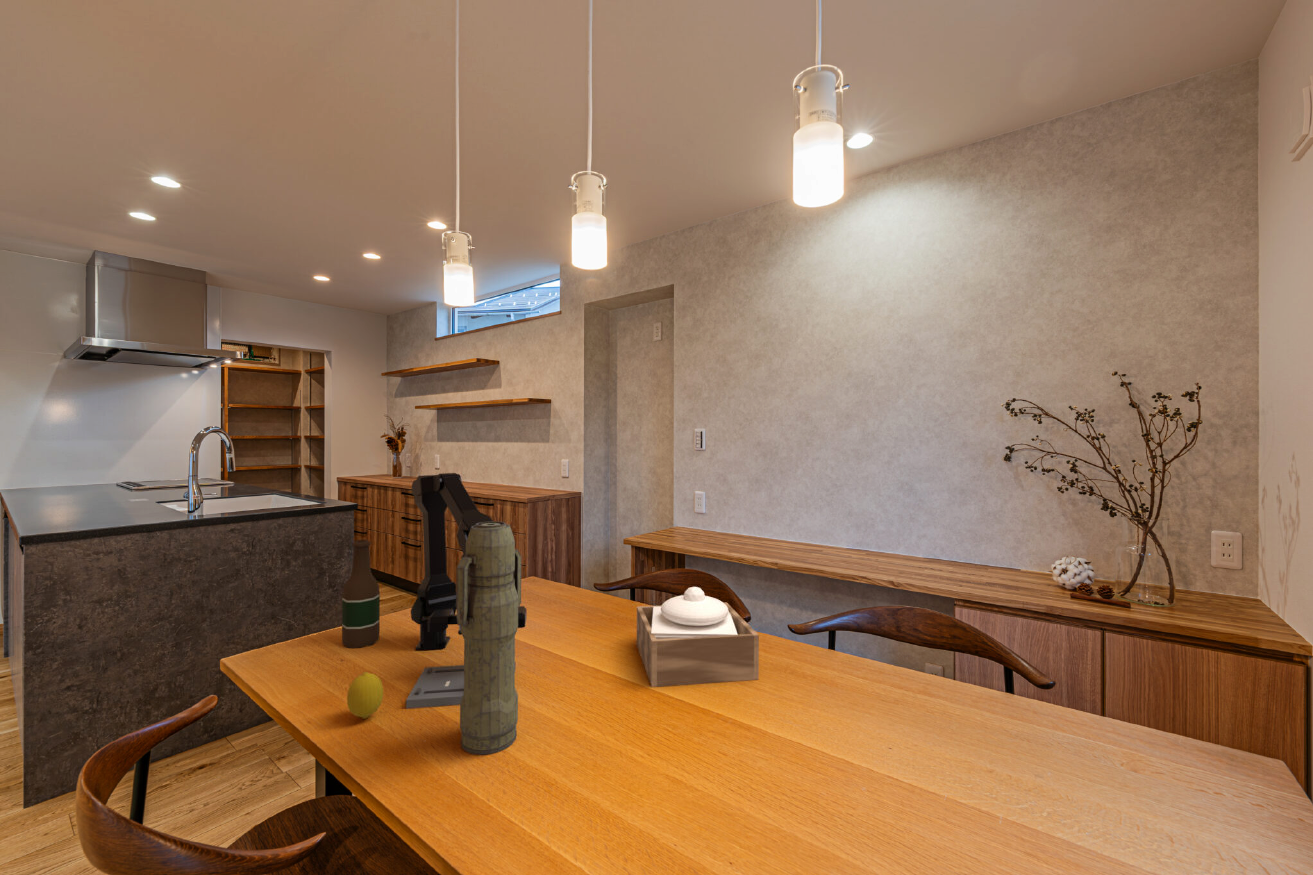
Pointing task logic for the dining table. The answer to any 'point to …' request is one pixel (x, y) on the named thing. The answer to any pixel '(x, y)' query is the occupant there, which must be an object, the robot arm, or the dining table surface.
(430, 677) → the console
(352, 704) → the lemon
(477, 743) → the thermos
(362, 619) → the beer bottle
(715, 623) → the butter dish
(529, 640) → the dining table surface
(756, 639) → the dish corral
